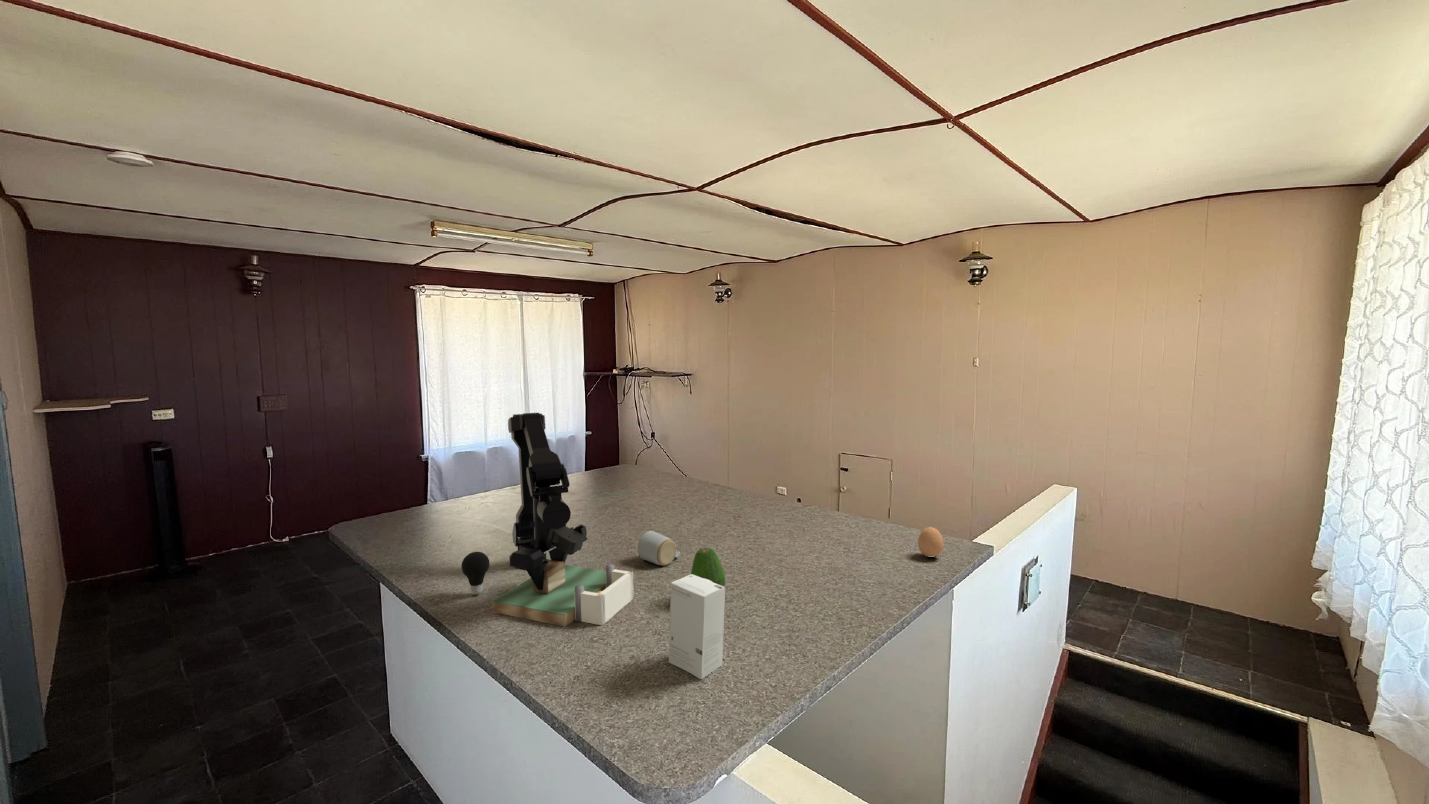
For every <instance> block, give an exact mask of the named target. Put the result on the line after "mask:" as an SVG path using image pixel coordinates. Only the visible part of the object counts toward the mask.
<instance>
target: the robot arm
mask: <svg viewBox="0 0 1429 804" xmlns="http://www.w3.org/2000/svg"><path fill="white" fill-rule="evenodd" d="M507 428H508V433H511V434H510V435H511V436H510V437H511V441H513V443H514V444H515V446H516V447H517V449H518V461H519V462H518V464H519V479H520V480H519V481H520V500H521V505H520V507H519V509H518V510H517V512H516V513H515V522H514V523H513V527H512V531H511V532H512V543H513V545H514V546H515V547H517V550H515V551H513V552H512V553H511V554H510V555H509V567H513V568H518V569H525V571H526V572H527V574H528V575H529V577H530V578H531V579H532V580H533V582H534V584H535V586H536V587H537V589H538V590H542V589H543V583H544V567H545V566H546V565H547V564H548V563H549V562H548V560H555V561H561V562H564V565H566V560H567V557H568V555H569V556H572V555H574V554H575V553H577V552H578V551H581V550H582V547H583V544H584V542H586V541H587V540H588V537H587V534H588V531H587V526H585V525H583V524H579V525H577V526H576V527H573V526H571V527H568V526H567V524H568V522H570V518H571V516H572V515H571V514H572V513H571V508H570V507H569V506H568V504H567V503H566V502H565V501H564V500H563V498H562V494H565V493H569V488H570V480H569V477H568V475H569V474H568V471H567V469H566V467H565V465H564V463H562V462H561V459H560V458H559V455H558V454H557V453H556V452H554V451H552V450H551V448H550V445H549V441H548V437H547V434H546V432H545V431H546V430H547V429H546V428H547V427H546V416H545V414H543V413H540V412H524V413H515V414H512V416H510V417H509V418H508V420H507ZM547 553H548V554H549V558H550V559H549V558H547Z"/></svg>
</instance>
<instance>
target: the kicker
mask: <svg viewBox="0 0 1429 804" xmlns="http://www.w3.org/2000/svg"><path fill="white" fill-rule="evenodd" d="M548 562H549V563H548V564H547V565H546V566H545V567H544V583H543V589H542V590H538V589H537V587H536V586H535V584H534V582H533V591H534V592H540V593H545V594H549V593H550V592H552V591H553V590H555V589H557V588H558V587H560V586H561V585H563V584H564V583H565V568H564V565H565V564H564V562H561V561H555V560H551V559H549V560H548Z"/></svg>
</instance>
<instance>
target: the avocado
mask: <svg viewBox="0 0 1429 804" xmlns="http://www.w3.org/2000/svg"><path fill="white" fill-rule="evenodd" d="M692 561H693V562H692V566H691V571H690V575H691V574H693V575H696V576H698V577H701V578H704V579H708V580H710V581H712V582H713V583H716V584H718V585H721V586H723V587H725V585H726V574H725V570H724V568H723V566H722V562H721V561H720V559H719V557H718V555H717V553H716V551H715V550H714V549H713V548H709V547H701V548H700V549H699V550H697V551H696V552H695V555H694V557H693V560H692ZM725 588H726V587H725Z"/></svg>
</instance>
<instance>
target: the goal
mask: <svg viewBox="0 0 1429 804" xmlns="http://www.w3.org/2000/svg"><path fill="white" fill-rule="evenodd" d="M605 571H606V589H605V590H603V591H602V592H601V593H600V594H599V593H594V592H588V591H584V586H583V585H577V586H575V592H574V593H575V620H574V621H576V622H578V623H579V622H582V623H589V624H593V625H600V626H604V624H606V623H607V622H608V621H609V620H610V619H612V618H613V617H614V616H615V615H616V614H617V613H618V612H620V611H621V610H622V609H623V608H624V607H626V605H628V604H629V602H630V603H631V601H632V600H633V599H634V595H635V594H634V591H635V590H634V585H635V584H634V572H633V571H629V570H623V569H616V568H615V564H614V563H609V564H606V565H605Z"/></svg>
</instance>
